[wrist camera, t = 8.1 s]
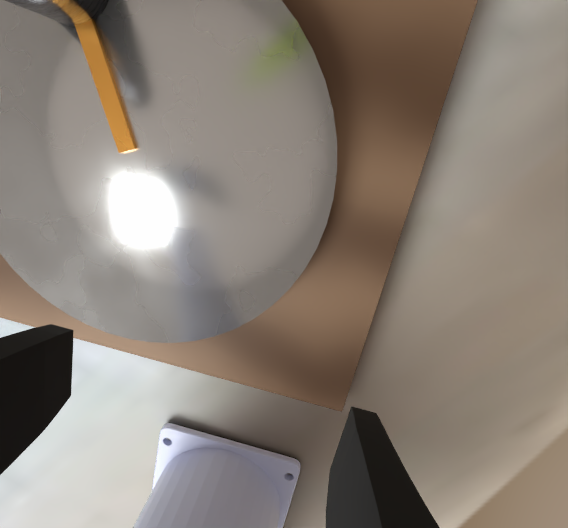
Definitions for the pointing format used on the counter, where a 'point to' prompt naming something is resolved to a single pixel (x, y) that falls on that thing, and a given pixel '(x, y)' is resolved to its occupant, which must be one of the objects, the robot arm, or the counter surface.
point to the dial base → (344, 211)
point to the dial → (161, 160)
